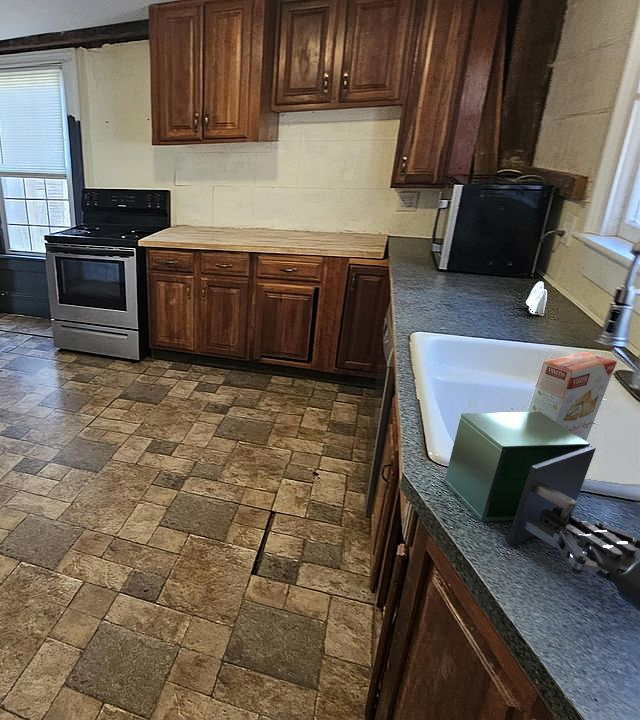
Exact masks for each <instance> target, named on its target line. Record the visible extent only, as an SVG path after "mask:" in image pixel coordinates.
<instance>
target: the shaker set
mask: <svg viewBox="0 0 640 720" xmlns="http://www.w3.org/2000/svg"><path fill="white" fill-rule="evenodd" d="M547 299H548V290H547V289H544V282H543V281H538V282H537V283H536V284H535V285H534V286H533V288H532V289H531V291H530V293H529V296H528V298H527V299H526V301H525V304H526V306H528V307H529V308H528V311H529V313H530V314H532V315H538V316H540V317H544V314H545V309H546V304H547ZM530 309H531V310H530ZM532 311H533V312H532ZM535 312H538V313H535ZM542 313H544V314H542Z"/></svg>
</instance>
